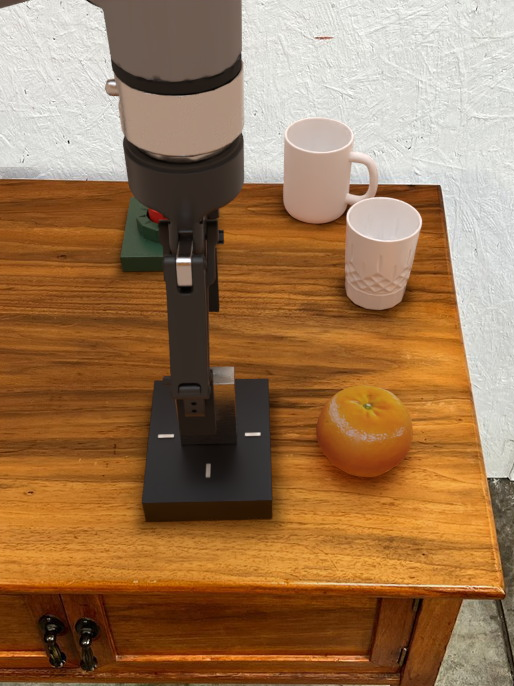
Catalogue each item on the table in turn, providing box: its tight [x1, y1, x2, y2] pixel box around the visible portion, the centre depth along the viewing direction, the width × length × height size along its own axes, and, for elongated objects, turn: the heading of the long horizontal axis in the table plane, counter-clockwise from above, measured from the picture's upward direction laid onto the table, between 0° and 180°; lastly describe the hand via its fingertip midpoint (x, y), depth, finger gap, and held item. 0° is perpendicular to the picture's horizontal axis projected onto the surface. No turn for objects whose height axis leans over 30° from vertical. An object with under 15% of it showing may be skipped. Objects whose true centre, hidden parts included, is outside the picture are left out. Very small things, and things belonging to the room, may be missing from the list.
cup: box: [282, 116, 379, 225], centre depth 96 cm, size 8×12×10 cm
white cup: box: [344, 196, 423, 311], centre depth 85 cm, size 8×8×10 cm
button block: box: [119, 196, 163, 273], centre depth 93 cm, size 12×10×4 cm
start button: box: [148, 208, 166, 224], centre depth 91 cm, size 4×4×2 cm
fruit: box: [315, 384, 414, 478], centre depth 70 cm, size 8×9×8 cm
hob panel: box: [141, 378, 274, 523], centre depth 71 cm, size 14×11×3 cm
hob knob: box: [175, 366, 237, 445], centre depth 67 cm, size 5×2×8 cm, turn 92°
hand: (201, 366), depth 64 cm, fingers open, 13 cm apart
